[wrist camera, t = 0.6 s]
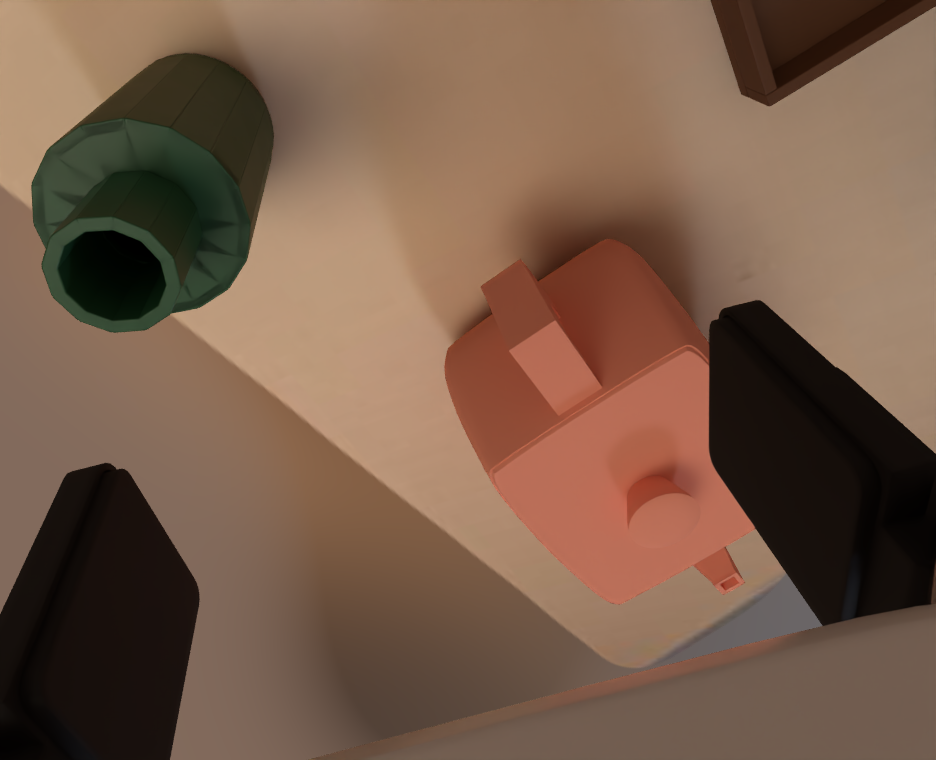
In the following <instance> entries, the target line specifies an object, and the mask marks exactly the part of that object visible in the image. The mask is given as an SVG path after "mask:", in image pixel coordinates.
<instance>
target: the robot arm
mask: <svg viewBox="0 0 936 760" xmlns="http://www.w3.org/2000/svg"><path fill="white" fill-rule="evenodd" d="M709 454H710V458H711V461H712V464H713V466H714V468H715V470H716V472H717V473H718V475H719V476H720V478H721V479H722V480H723V482H724V483H725V485H726V486H727V488H728V489H729V491H730V492H731V494H732V495H733V496H734V498H735V499H736V501H737V502H738V504H739V505H740V507H741V508H742V509H743V511H744V512H745V514H746V515H747V517H748V518H749V520H750V521H751V522H752V524H753V525H754V527H755V528H756V530H757V531H758V533H759V534H760V536H761V537H762V538H763V540H764V541H765V543H766V544H767V546H768V547H769V549H770V550H771V551H772V553H773V554H774V556H775V557H776V559H777V560H778V562H779V563H780V565H781V566H782V567H783V569H784V570H785V572H786V573H787V575H788V576H789V577H790V579H791V580H792V582H793V583H794V585H795V586H796V588H797V589H798V591H799V592H800V594H801V595H802V596H803V598H804V599H805V601H806V602H807V604H808V605H809V606H810V608H811V609H812V611H813V612H814V613H815V615H816V616H817V618H818V620H819V621H820V623H821V624H822V625H823V626H821V627H818V628H813V629H809V630H805V631H801V632H797V633H792V634H788V635H784V636H780V637H775V638H772V639H767V640H763V641H759V642H755V643H751V644H747V645H743V646H739V647H735V648H731V649H727V650H723V651H720V652H716V653H712V654H708V655H704V656H700V657H696V658H692V659H689V660H685V661H681V662H677V663H673V664H669V665H666V666H662V667H658V668H654V669H650V670H646V671H642V672H638V673H635V674H631V675H627V676H623V677H619V678H615V679H612V680H607V681H603V682H600V683H596V684H592V685H588V686H584V687H580V688H576V689H573V690H569V691H565V692H561V693H557V694H554V695H550V696H546V697H542V698H539V699H535V700H531V701H527V702H523V703H519V704H516V705H512V706H508V707H504V708H501V709H497V710H493V711H489V712H486V713H481V714H478V715H474V716H470V717H466V718H463V719H459V720H455V721H451V722H447V723H444V724H440V725H436V726H432V727H429V728H425V729H421V730H417V731H414V732H410V733H406V734H402V735H398V736H395V737H391V738H387V739H384V740H380V741H376V742H372V743H368V744H364V745H361V746H357V747H354V748H350V749H346V750H342V751H339V752H335V753H331V754H327V755H324V756H320V757H316V758H313V759H309V760H936V454H935V453H934V452H933V451H932V450H931V449H930V448H929V447H927V446H926V445H925V444H924V443H923V442H922V441H921V440H920V439H919V438H917V437H916V436H915V435H914V434H913V433H912V432H911V431H910V430H908V429H907V428H906V427H905V426H904V425H903V424H902V423H901V422H900V421H898V420H897V419H896V418H895V417H894V416H893V415H892V414H891V413H890V412H888V411H887V410H886V409H885V408H884V407H883V406H882V405H881V404H879V403H878V402H877V401H876V400H875V399H874V398H873V397H872V396H871V395H869V394H868V393H867V392H866V391H865V390H864V389H863V388H862V387H860V386H859V385H858V384H857V383H856V382H855V381H854V380H853V379H852V378H850V377H849V376H848V375H847V374H846V373H845V372H843V371H842V370H840V369H839V368H837V367H835V366H833V365H832V364H831V363H830V362H829V361H828V360H827V359H826V358H825V357H824V356H822V355H821V354H820V353H819V352H818V351H817V350H816V349H815V348H814V347H812V346H811V345H810V344H809V343H808V342H807V341H806V340H805V339H804V338H802V337H801V336H800V335H799V334H798V333H797V332H796V331H795V330H794V329H792V328H791V327H790V326H789V325H788V324H787V323H786V322H785V321H784V320H783V319H781V318H780V317H779V316H778V315H777V314H776V313H775V312H774V311H773V310H771V309H770V308H769V307H768V306H767V305H766V304H765V303H763V302H762V301H760V300H755V301H751V302H747V303H743V304H739V305H735V306H731V307H727V308H724V309H722V310H721V312H720V314H719V319H717V320H713V321H712V322H711V324H710V329H709ZM198 607H199V590H198V586H197V583H196V581H195V579H194V577H193V576H192V574H191V572H190V571H189V569H188V567H187V566H186V564H185V562H184V561H183V559H182V558H181V556H180V554H179V553H178V551H177V549H176V548H175V546H174V545H173V543H172V542H171V540H170V539H169V537H168V535H167V534H166V532H165V530H164V528H163V527H162V525H161V524H160V522H159V521H158V519H157V517H156V515H155V514H154V512H153V511H152V509H151V507H150V506H149V504H148V503H147V501H146V499H145V498H144V496H143V494H142V493H141V491H140V489H139V488H138V486H137V485H136V483H135V481H134V480H133V478H132V476H131V475H130V474H129V473H128V471H126V470H125V469H118V470H117V469H116V468H115V467H114V466H113V465H111V464H109V463H104V464H100V465H96V466H92V467H88V468H84V469H80V470H76V471H72V472H70V473H68V474H67V475H66V476H65V478H64V479H63V481H62V483H61V486H60V488H59V490H58V492H57V494H56V496H55V498H54V500H53V503H52V505H51V507H50V509H49V511H48V513H47V516H46V518H45V520H44V522H43V524H42V526H41V528H40V530H39V533H38V535H37V537H36V539H35V541H34V543H33V545H32V547H31V550H30V552H29V554H28V556H27V558H26V560H25V563H24V565H23V567H22V569H21V571H20V573H19V576H18V578H17V580H16V582H15V584H14V586H13V589H12V590H11V592H10V594H9V597H8V599H7V601H6V603H5V605H4V607H3V610H2V612H1V614H0V760H170V756H171V750H172V745H173V740H174V734H175V730H176V724H177V719H178V714H179V708H180V702H181V698H182V692H183V687H184V682H185V676H186V671H187V666H188V660H189V655H190V650H191V644H192V639H193V633H194V629H195V623H196V618H197V612H198Z"/></svg>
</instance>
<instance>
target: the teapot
mask: <svg viewBox="0 0 936 760" xmlns="http://www.w3.org/2000/svg"><path fill="white" fill-rule="evenodd" d="M481 288H482V291H483V293H484V295H485V297H486V300H487V302H488V304H489V307H490V309H491V311H492V313H493V314H491V315H490V316H489V317H487V318H486V319H485V320H483V321H482V322H480V323H479V324H478V325H476V326H475V327H473V328H472V329H471V330H470V331H468V332H467V333H466V334H464V335H463V336H462V337H461V338H459V339H458V340H457V341H455V342H454V343H453V344H452V345H451V346H450V347H449V348H448V351H447V354H446V359H445V378H446V382H447V386H448V389H449V392H450V395H451V398H452V401H453V404H454V406H455V409H456V412H457V414H458V416H459V419H460V421H461V423H462V426H463V428H464V430H465V432H466V434H467V436H468V438H469V440H470V442H471V444H472V446H473V448H474V450H475V452H476V454H477V456H478V458H479V459H480V461H481V463H482V465H483V467H484V469H485V471H486V473H487V474H488V476H489V478H490V480H491V481H492V483H493V485H494V487H495V488H496V490H497V491H498V492H499V494H500V495H501V496H502V498H503V499H504V500H505V502H506V503H507V504H508V505H509V507H510V508H511V509H512V510H513V511H514V513H515V514H516V515H517V516H518V517H519V518H520V520H521V521H522V522H523V523H524V524H525V525H526V526H527V528H528V529H529V530H530V531H531V532H532V533H533V534H534V535H535V536H536V538H537V539H538V540H539V541H540V542H541V543H542V544H543V545H544V546H545V547H546V548H547V549H548V550H549V551H550V552H551V553H552V554H553V555H554V556H555V557H556V558H557V559H558V560H559V561H560V562H561V563H562V564H563V565H564V566H565V567H566V568H567V569H568V570H570V571H571V572H572V573H573V574H574V575H575V576H576V577H577V578H578V579H580V580H581V581H582V582H583V583H584V584H585V585H586V586H588V587H589V588H590V589H591V590H592V591H594V592H595V593H596V594H598V595H599V596H600V597H602V598H603V599H605V600H606V601H608V602H610V603H613V604H619V605H620V604H622V603H624V602H626V601H628V600H630V599H632V598H634V597H635V596H637V595H639V594H641V593H643V592H645V591H647V590H649V589H651V588H652V587H654V586H656V585H658V584H660V583H662V582H664V581H665V580H667V579H669V578H671V577H673V576H675V575H676V574H678V573H680V572H682V571H684V570H686V569H687V568H689V567H691V566H694V567H695V568H696V569H697V570H699V571H700V572H701V573H702V574H703V575H704V576H705V577H706V578H707V579H708V580H710V581H711V582H712V583H713V585H714V586H715V587H716V588H717V589H718V590H719V591H720V592H721V593H722V594H723V595H724V594H726V593H728V592H730V591H732V590H733V589H735V588H737V587H739V586H740V585H742V584H744V583H745V582H744V580H743V579H742V577H741V575H740V573H739V571H738V569H737V568H736V566H735V564H734V562H733V560H732V558H731V556H730V554H729V553H728V551H727V549H726V546H727V545H729V544H731V543H732V542H734V541H736V540H738V539H739V538H741V537H743V536H744V535H746V534H748V533H749V532H751V531H753V530H754V529H756V528H755V527H754V525H753V524H752V522H751V521H750V520H749V518H748V517H747V515H746V514H745V512H744V511H743V509H742V508H741V507H740V505H739V504H738V502H737V501H736V499H735V498H734V496H733V495H732V494H731V492H730V491H729V489H728V488H727V486H726V485H725V483H724V482H723V480H722V479H721V478H720V476H719V475H718V473H717V472H716V470H715V468H714V466H713V464H712V461H711V458H710V454H709V343H708V342H707V340H706V339H705V338H704V336H703V335H702V333H701V332H700V330H699V329H698V327H697V326H696V325H695V323H694V322H693V320H692V319H691V318H690V316H689V315H688V314H687V312H686V311H685V310H684V308H683V307H682V306H681V304H680V303H679V302H678V300H677V299H676V298H675V297H674V295H673V294H672V293H671V291H670V290H669V289H668V288H667V286H666V285H665V284H664V283H663V281H662V280H661V279H660V278H659V277H658V275H657V274H656V273H655V272H654V271H653V269H652V268H651V267H650V266H649V265H648V264H647V263H646V261H645V260H644V259H643V258H642V257H641V256H639V255H638V254H637V253H636V252H635V251H634V250H633V249H632V248H630V247H629V246H627V245H625V244H623V243H621V242H618V241H616V240H613V239H605V240H603V241H601V242H599V243H597V244H595V245H594V246H592V247H590V248H589V249H587V250H586V251H584V252H582V253H581V254H579V255H577V256H576V257H574V258H573V259H571V260H570V261H568V262H567V263H565V264H564V265H562V266H561V267H559V268H558V269H556V270H555V271H553V272H552V273H550V274H549V275H547V276H546V277H544V278H543V279H541V280H540V281H537V280H536V278H535V277H534V276H533V274H532V273H531V272H530V270H529V269H528V268H527V266H526V265H525V264H524V263H523V261H522V260H521V259H520V260H518V261H517V262H515V263H514V264H512V265H511V266H510V267H508V268H507V269H505V270H504V271H502V272H501V273H499V274H498V275H497V276H495V277H494V278H492V279H491V280H489V281H488V282H486V283H485V284H483V285H482V286H481Z"/></svg>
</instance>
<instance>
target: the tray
mask: <svg viewBox="0 0 936 760" xmlns="http://www.w3.org/2000/svg"><path fill="white" fill-rule="evenodd" d="M711 3H712V6H713V9H714V12H715V15H716V18H717V21H718V24H719V27H720V30H721V33H722V36H723V39H724V42H725V45H726V49H727V52H728V55H729V58H730V61H731V64H732V67H733V70H734V73H735V76H736V79H737V82H738V85H739V88H740V91H741V94H742V95H744V96H746V97H749V98H751V99H753V100H756V101H758V102H760V103H762V104H765V105H767V106H772V105H773V104H775V103H777V102H778V101H780V100H781V99H783V98H785V97H786V96H788V95H790V94H791V93H793V92H795V91H796V90H798V89H800V88H801V87H803V86H805V85H806V84H808V83H809V82H811V81H813V80H814V79H816V78H818V77H819V76H821V75H823V74H824V73H826V72H828V71H829V70H831V69H833V68H834V67H836V66H837V65H839V64H841V63H842V62H844V61H846V60H847V59H849V58H851V57H852V56H854V55H856V54H857V53H859V52H861V51H862V50H864V49H865V48H867V47H869V46H870V45H872V44H874V43H875V42H877V41H879V40H880V39H882V38H884V37H885V36H887V35H889V34H890V33H892V32H893V31H895V30H897V29H898V28H900V27H902V26H903V25H905V24H907V23H908V22H910V21H912V20H913V19H915V18H917V17H918V16H920V15H922V14H923V13H925V12H926V11H928V10H930V9H931V8H933V7H935V6H936V0H711Z"/></svg>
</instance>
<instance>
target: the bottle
mask: <svg viewBox="0 0 936 760" xmlns="http://www.w3.org/2000/svg"><path fill="white" fill-rule="evenodd" d="M273 138H274V133H273V125H272V121H271V117H270V114H269V111H268V108H267V106H266V104H265V102H264V100H263V98H262V97H261V95H260V94H259V92H258V90H257V89H256V88H255V87H254V86H253V84H252V83H251V82H250V81H249V80H248V79H247V78H246V77H245V76H244V75H242V74H241V73H240V72H239V71H237V70H236V69H235V68H233V67H231V66H230V65H228V64H226V63H224V62H222V61H220V60H217V59H215V58H211V57H208V56H204V55H198V54H177V55H172V56H168V57H165V58H162V59H159V60H156V61H155V62H154V63H152V64H151V65H149V66H148V67H147V68H145V69H144V70H143V71H141V72H140V73H139V74H137V75H136V76H135V77H133V78H132V79H131V80H130V81H129V82H127V83H126V84H125V85H124V86H123V87H121V88H120V89H119V90H118V91H117V92H115V93H114V94H113V95H112V96H111V97H109V98H108V99H107V100H106V101H105V102H103V103H102V104H101V105H100V106H99V107H97V108H96V109H95V110H94V111H93V112H91V113H90V114H89V115H88V116H87V117H85V118H84V119H83V120H82V121H81V122H79V123H78V124H77V125H76V126H75V127H73V128H72V129H71V130H70V131H69V132H67V133H66V134H65V135H64V136H63V137H61V138H60V139H59V140H58V141H57V142H55V143H54V144H53V145H52V146H51V147H49V149H48V150H47V151H46V153H45V156H44V158H43V160H42V162H41V164H40V166H39V168H38V171H37V173H36V175H35V177H34V179H33V181H32V185H31V188H32V207H33V223H34V226H35V228H36V230H37V232H38V234H39V236H40V238H41V240H42V242H43V244H44V246H45V248H46V251H45V254H44V257H43V261H42V270H43V272H44V275H45V278H46V281H47V284H48V286H49V289H50V292H51V295H52V296H53V298H54V299H55V300H56V301H57V302H58V303H59V304H61V305H62V306H63V307H64V308H65V309H66V310H67V311H68V312H69V313H71V314H72V315H73V316H74V317H75V318H76V319H77V320H79V321H80V322H83V323H86V324H89V325H92V326H95V327H97V328H100V329H103V330H106V331H109V332H114V333H116V332H129V331H141V330H147V329H149V328H150V327H152V326H153V325H155V324H156V323H158V322H160V321H161V320H163V319H164V318H166V317H167V316H169V315H170V314H171V313H176V312H181V311H186V310H192V309H197V308H200V307H202V306H203V305H205V304H206V303H208V302H209V301H211V300H212V299H214V298H216V297H217V296H219V295H220V294H222V293H223V292H225V291H226V290H228V288H230V286H231V285H232V283H233V282H234V280H235V278H236V277H237V275H238V274H239V272H240V270H241V269H242V267H243V266H244V264H245V263H246V261H247V258H248V254H249V250H250V246H251V241H252V237H253V233H254V229H255V225H256V221H257V217H258V212H259V208H260V204H261V200H262V196H263V192H264V187H265V183H266V179H267V175H268V171H269V167H270V163H271V156H272V149H273Z"/></svg>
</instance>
